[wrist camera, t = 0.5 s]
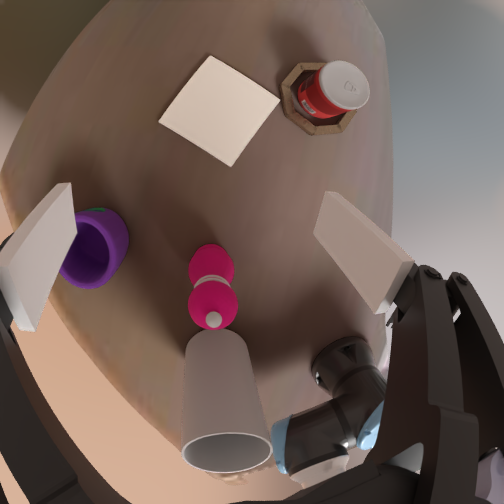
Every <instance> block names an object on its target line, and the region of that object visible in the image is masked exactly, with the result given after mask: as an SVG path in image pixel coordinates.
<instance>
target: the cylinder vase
mask: <svg viewBox="0 0 504 504" xmlns="http://www.w3.org/2000/svg"><path fill="white" fill-rule="evenodd" d="M272 451H273V447H272V444H271V440H270V436H269V432H268V429H267V425H266V421H265V417H264V413H263V409H262V405H261V401H260V397H259V393H258V389H257V385H256V381H255V377H254V373H253V369H252V365H251V361H250V357H249V353H248V348H247V345H246V343H245V341H244V340H243V339H242V338H241V337H240V336H239V335H238V334H236V333H235V332H233V331H230V330H227V329H223V328H222V329H219V330H209V329H206V330H203V331H201V332H199V333H197V334H196V335H194V336H193V337H192V338H191V339H190V341H189V342H188V344H187V347H186V353H185V368H184V385H183V406H182V441H181V455H182V458H183V459H184V461H185V462H187V463H188V464H189V465H191V466H192V467H195V468H197V469H200V470H203V471H207V472H214V473H233V472H240V471H244V470H248V469H251V468H254V467H256V466H258V465H260V464H262V463H263V462H265V461H266V460H267V459H268V458H269V457H270V456H271V454H272Z"/></svg>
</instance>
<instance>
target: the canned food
mask: <svg viewBox="0 0 504 504" xmlns="http://www.w3.org/2000/svg"><path fill="white" fill-rule="evenodd" d="M369 95H370V87H369V83H368V80H367V78H366V77H365V75H364V74H363V72H362V71H361V70H360V69H359V68H358V67H356V66H355V65H353V64H351V63H349V62H347V61H343V60H334V61H331V62H329V63H327V64H325V65H324V66H322V67H321V68H320V69H318V70H317V71H316V72H315V73H313V74H312V75H311V76H310V77H308V78H307V79H306V80H305V81H303V82H302V84H301V85H300V87H299V89H298V101H299V103H300V105H301V107H302V108H303V109H304V110H305V111H306V112H307V113H308V114H310V115H312V116H314V117H317V118H330V117H333V116H336V115H339V114H342V113H345V112H349V111H352V110H355V109H357V108H360V107H362V106H363V105H364V104H365V103H366V102H367V101H368V99H369Z"/></svg>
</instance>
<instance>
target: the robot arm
mask: <svg viewBox="0 0 504 504" xmlns="http://www.w3.org/2000/svg"><path fill="white" fill-rule="evenodd" d="M76 234H77V228H76V222H75V215H74V207H73V199H72V189H71V183H58V184H57V185H56V186H55V187H54V188H53V189H52V190H51V191H50V192H49V193H48V194H47V195H46V196H45V197H44V198H43V199H42V201H41V202H40V203H39V204H38V205H37V206H36V207H35V208H34V210H33V211H32V212H31V213H30V214H29V215H28V217H27V218H26V219H25V220H24V221H23V223H22V224H21V225H20V226H19V228H18V229H17V230H16V231H15V232H13V233H12V234H11V235H10V236H8V237H7V238H6V239H5V240H4V241H3V242H2V244H1V245H0V452H1V454H2V456H3V458H4V460H5V462H6V463H7V465H8V467H9V469H10V471H11V473H12V474H13V476H14V478H15V480H16V481H17V483H18V484H19V486H20V488H21V489H22V491H23V492H24V494H25V495H26V497H27V499H28V501H29V503H30V504H131V503H130V502H129V501H127V500H126V499H125V498H123V497H122V496H121V495H119V494H118V493H117V492H116V491H115V490H114V489H113V488H112V487H111V486H110V485H109V484H108V483H107V482H106V480H105V479H103V477H102V476H101V475H100V474H99V473H98V472H97V470H96V469H95V468H94V467H93V466H92V465H91V463H90V462H89V461H88V460H87V459H86V457H85V456H84V455H83V453H82V452H81V451H80V450H79V448H78V447H77V446H76V444H75V443H74V442H73V440H72V439H71V438H70V437H69V435H68V433H67V432H66V430H65V429H64V428H63V426H62V425H61V423H60V422H59V420H58V419H57V417H56V415H55V414H54V413H53V411H52V409H51V407H50V406H49V404H48V403H47V401H46V399H45V397H44V396H43V394H42V392H41V390H40V388H39V387H38V385H37V383H36V381H35V379H34V377H33V375H32V373H31V372H30V369H29V367H28V365H27V363H26V361H25V359H24V356H23V354H22V352H21V350H20V347H19V345H18V343H17V340H16V338H15V335H14V333H13V331H12V329H11V327H10V325H11V322H12V320H13V319H14V321H15V323H16V324H17V326H18V328H19V330H24V331H34V332H35V331H36V329H37V326H38V323H39V320H40V317H41V314H42V311H43V309H44V306H45V303H46V301H47V298H48V296H49V293H50V291H51V288H52V286H53V283H54V281H55V279H56V276H57V274H58V272H59V269H60V267H61V265H62V263H63V261H64V259H65V256H66V254H67V252H68V250H69V248H70V246H71V244H72V242H73V240H74V238H75V236H76ZM313 235H314V236H315V237H316V239H317V240H318V241H319V242H320V243H321V245H322V246H323V247H324V248H325V250H326V251H327V252H328V254H329V255H330V256H331V257H332V259H333V260H334V261H335V262H336V264H337V265H338V266H339V268H340V269H341V270H342V271H343V273H344V274H345V275H346V277H347V278H348V279H349V281H350V282H351V283H352V285H353V286H354V287H355V288H356V290H357V291H358V292H359V294H360V295H361V297H362V298H363V299H364V301H365V302H366V303H367V305H368V306H369V307H370V309H371V310H372V312H373V313H374V314H380V313H385V312H387V311H388V309H389V308H390V306H391V304H392V303H393V302H394V303H395V304H396V305H397V307H396V309H395V311H394V312H393V314H392V316H391V318H390V319H389V320H388V322H387V324H386V326H389V324H390V323H393V325H392V327H391V328H393V329H392V343H391V353H390V354H391V355H390V363H389V371H388V379H387V380H386V379H385V378H384V376H383V375H382V374H381V372H380V371H379V370H378V369H377V367H376V364H375V360H374V356H373V353H372V350H371V348H370V346H369V345H368V344H367V343H366V342H365V341H364V340H363V339H361V338H359V337H346V338H342V339H340V340H337V341H335V342H333V343H332V344H330V345H329V346H327V347H326V348H325V349H324V350H323V351H322V352H321V353H320V354H319V355H318V356H317V358H316V360H315V361H314V364H313V367H312V375H313V378H314V380H315V382H316V383H317V385H318V386H319V387H320V388H322V389H323V390H324V391H325V392H327V393H328V394H329V395H330V396H332V397H333V399H331V400H329V401H327V402H324V403H322V404H320V405H317V406H315V407H313V408H310V409H307V410H305V411H302V412H300V413H297V414H294V415H293V414H292V415H290V416H289V417H287V418H285V419H282V420H280V421H277V422H276V423H274V425H273V426H272V429H271V444H272V447H273V456H274V459H275V460H276V465H277V468H278V469H279V471H280V472H281V473H285V474H287V473H289V476H290V479H291V480H294V481H296V482H299V483H300V484H301V485H302V487H303V490H300V491H299V492H297V493H295V494H294V495H292V496H290V497H288V498H286V499H284V500H281V501H242V502H236V503H230V504H504V344H503V341H502V339H501V337H500V335H499V333H498V331H497V329H496V327H495V325H494V323H493V321H492V319H491V317H490V315H489V313H488V312H487V310H486V308H485V306H484V305H483V303H482V301H481V299H480V297H479V296H478V294H477V293H476V291H475V289H474V287H473V286H472V284H471V283H470V281H469V280H468V279H467V278H466V276H464V275H463V274H461V273H458V272H452V274H451V275H450V277H449V279H448V280H443V278H442V276H441V274H440V273H439V272H438V271H436V270H435V269H434V268H432V267H430V266H427V265H420V266H419V267H418V266H417V265H416V264H415V263H414V262H415V261H414V260H413V259H412V258H411V257H410V256H409V255H408V254H407V253H406V252H405V251H404V250H403V249H402V248H401V247H400V246H399V245H398V244H396V243H395V242H394V241H393V240H392V239H391V238H390V237H389V236H388V235H387V234H386V233H384V232H383V231H382V230H381V229H380V228H379V227H378V226H377V225H375V224H374V223H373V222H372V221H371V220H370V219H369V218H367V217H366V216H365V215H364V214H363V213H362V212H360V211H359V210H358V209H357V208H356V207H354V206H353V205H352V204H351V203H350V202H348V201H347V200H346V199H345V198H344V197H342V196H341V195H340V194H339V193H337V192H332V191H325V194H324V198H323V201H322V205H321V208H320V212H319V215H318V219H317V222H316V225H315V229H314V232H313ZM458 309H460V312H461V314H460V315H459V317H458V318H457V320H456V321H455V322H453V316H454V315H455V313H456V312H457V310H458ZM356 445H357V447H358V448H360V449H362V450H367V449H369V448H372V449H371V451H370V452H369V453H368V455H367V457H366V458H365V460H364V462H363V464H361V465H358V466H357V467H354V468H352V469H349V470H346V467H345V466H346V464H347V462H348V460H349V455H348V453H347V450H348V449H350V448H352V447H354V446H356ZM495 447H497V449H495ZM420 469H421V470H420ZM417 470H420V475H419V474H417V473H415V471H417ZM0 504H9V503H8V501H7V498H6V496H5V494H4V491H3V488H2V486H1V483H0Z"/></svg>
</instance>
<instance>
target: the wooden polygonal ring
mask: <svg viewBox="0 0 504 504" xmlns="http://www.w3.org/2000/svg"><path fill="white" fill-rule="evenodd" d="M325 64H327V63H298V64H297V65H296V66H295V67H294V69H293V70H292V71H291V72H290V73H289V75H288V76H287V77H286V78H285V79H284V81H283V82H282V83H281V84H280V87H279V90H280V95H281V100H282V105H283V110H284V115H286V116H285V117H287V118H288V119H289V120H291V121H292V122H293V123H295V124H296V125H297V126H299V127H300V128H301V129H302V130H304V131H305V132H306V133H308V134H309V135H322V134H334V133H341V132H343V131H344V129H345V128H346V126H347V125H348V124H349V122H350V121H351V119H352V118H353V116H354V115H355V113H356V112H357V111H356V110H357V109H355V110H352V111H349V112H345V113H343V114H342V115H341V117H340V118H339V120H338V121H337V123H336V124H335V125H327V126H314V125H313V124H312V123H310V122H309V121H308V120H307V119H305V118H304V117H303V116H301V115H300V114H299V113H298V112H296V111H295V109H294V104H293V99H292V94H291V89H290V86H291V85H292V83H293V82H294V81H295V80H296V78H297V77H298V76H299V75H300V74H301V72H316V71H317V70H318V69H320V68H321V67H322V66H324V65H325Z"/></svg>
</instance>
